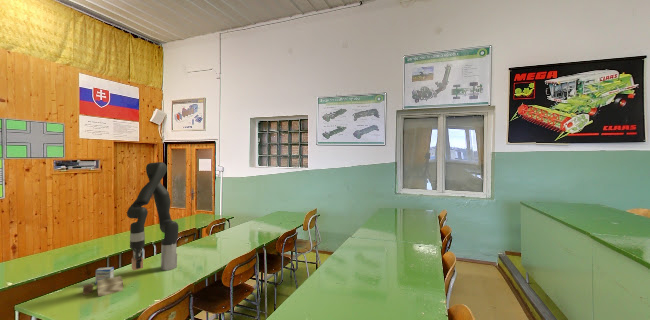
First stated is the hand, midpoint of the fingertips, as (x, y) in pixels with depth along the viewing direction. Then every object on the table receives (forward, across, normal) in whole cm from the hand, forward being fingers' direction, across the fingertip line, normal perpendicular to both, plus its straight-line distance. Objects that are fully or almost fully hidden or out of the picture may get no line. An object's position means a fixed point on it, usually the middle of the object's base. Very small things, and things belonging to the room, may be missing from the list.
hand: (137, 266), depth 166 cm
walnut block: (+10, +5, +23) cm, 25 cm away
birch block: (+10, 0, +13) cm, 17 cm away
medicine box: (+10, +15, +14) cm, 23 cm away
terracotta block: (+1, 0, 0) cm, 1 cm away
